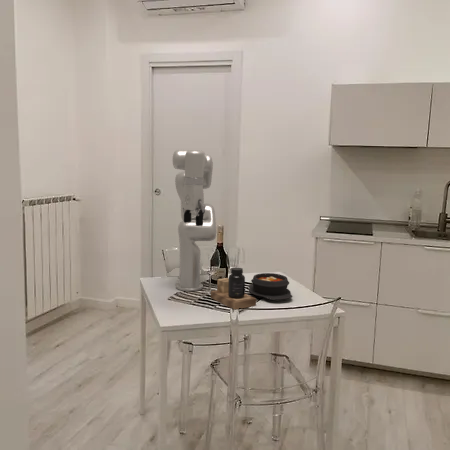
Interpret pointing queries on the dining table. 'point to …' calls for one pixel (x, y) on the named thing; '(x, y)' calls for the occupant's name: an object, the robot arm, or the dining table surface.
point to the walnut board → (233, 300)
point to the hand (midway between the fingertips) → (193, 224)
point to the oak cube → (223, 285)
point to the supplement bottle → (236, 283)
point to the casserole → (270, 286)
